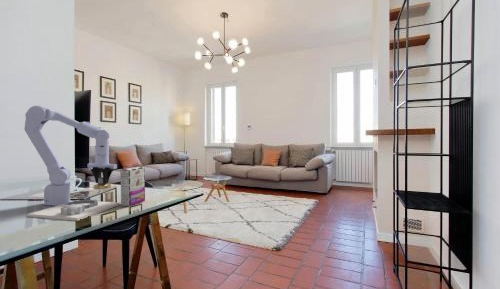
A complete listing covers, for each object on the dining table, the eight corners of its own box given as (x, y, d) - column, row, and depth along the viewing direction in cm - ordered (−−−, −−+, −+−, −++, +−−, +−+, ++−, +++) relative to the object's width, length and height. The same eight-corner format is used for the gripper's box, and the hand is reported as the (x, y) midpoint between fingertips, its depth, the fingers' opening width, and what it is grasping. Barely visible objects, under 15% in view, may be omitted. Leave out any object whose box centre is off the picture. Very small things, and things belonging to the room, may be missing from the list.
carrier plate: (27, 216, 96) (27, 207, 96) (77, 202, 118) (77, 194, 117) (77, 220, 92) (77, 211, 92) (119, 205, 113) (119, 197, 113)
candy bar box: (136, 200, 123) (136, 166, 122) (145, 200, 122) (145, 166, 121) (119, 206, 112) (119, 169, 111) (129, 206, 111) (129, 169, 110)
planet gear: (89, 189, 119) (89, 178, 119) (101, 186, 126) (101, 176, 126) (103, 189, 118) (103, 179, 118) (114, 186, 125) (113, 176, 125)
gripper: (121, 154, 124) (121, 182, 124) (95, 154, 127) (95, 181, 127) (110, 155, 117) (110, 185, 117) (83, 154, 120) (83, 183, 120)
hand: (102, 183), depth 122 cm, fingers closed on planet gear, 4 cm apart
